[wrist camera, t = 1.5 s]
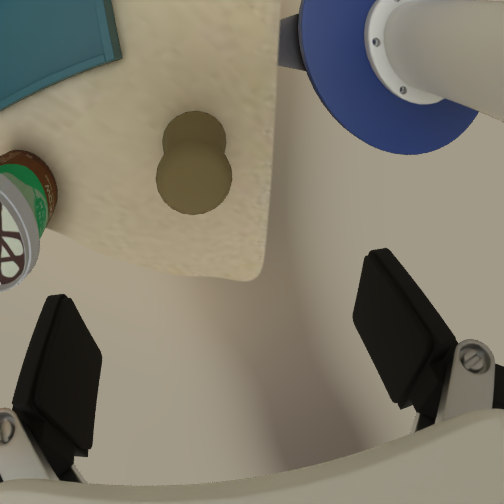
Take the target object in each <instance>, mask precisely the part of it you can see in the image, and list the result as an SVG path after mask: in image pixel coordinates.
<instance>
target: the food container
mask: <svg viewBox="0 0 504 504" xmlns="http://www.w3.org/2000/svg"><path fill="white" fill-rule="evenodd" d="M56 203H57V185H56V182H55V178H54V176H53V174H52V172H51V170H50V169H49V167H48V166H47V165H46V164H45V162H44V161H42V160H41V159H40V158H39V157H37V156H36V155H34V154H32V153H30V152H27V151H23V150H14V151H10V152H8V153H6V154H4V155H2V156H0V282H1V285H0V292H3V291H6V290H9V289H11V288H13V287H14V286H16V285H18V284H19V283H20V282H21V281H22V280H23V279H24V278H25V277H26V276H27V275H28V274H29V273H30V272H31V271H32V269H33V268H34V266H35V264H36V261H37V259H38V255H39V248H40V247H39V246H40V238H41V236H42V234H43V232H44V229H45V228H46V226H47V224H48V222H49V220H50V218H51V216H52V214H53V212H54V209H55V206H56Z"/></svg>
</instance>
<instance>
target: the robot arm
mask: <svg viewBox="0 0 504 504" xmlns="http://www.w3.org/2000/svg"><path fill="white" fill-rule="evenodd" d="M372 41H374V43H373V42H372ZM364 42H365V48H366V53H367V57H368V60H369V62H370V65H371V67H372V69H373V71H374V73H375V74H376V76H377V78H378V79H379V80H380V81H381V83H382V84H383V85H384V86H385V87H386V88H387V89H388V90H389V91H390V92H392V93H393V94H394V95H396V96H398V97H399V98H401V99H403V100H406V101H409V102H411V103H416V104H432V103H436V102H439V101H441V100H443V99H448V100H451V101H454V102H456V103H459V104H462V105H464V106H467V107H469V108H472V109H474V110H477V111H479V112H482V113H484V114H486V115H489V116H491V117H493V118H495V119H498V120H500V121H502V122H504V2H502V1H488V0H376V1H375V2H374V4H373V5H372V7H371V8H370V10H369V12H368V15H367V18H366V21H365V29H364ZM353 322H354V325H355V327H356V329H357V331H358V333H359V334H360V336H361V339H362V341H363V343H364V344H365V347H366V348H367V351H368V353H369V355H370V357H371V359H372V361H373V363H374V365H375V367H376V369H377V370H378V373H379V375H380V377H381V379H382V381H383V383H384V385H385V387H386V390H387V391H388V394H389V396H390V398H391V400H392V401H393V402H394V403H398V406H399V407H400V409H403V408H406V407H409V406H411V405H413V406H414V408H415V410H416V416H415V419H414V422H413V426H412V429H411V432H410V434H409V435H407V436H405V437H402V438H399V439H396V440H393V441H391V442H388V443H385V444H382V445H379V446H377V447H374V448H371V449H368V450H365V451H362V452H359V453H356V454H352V455H349V456H346V457H342V458H339V459H336V460H332V461H328V462H325V463H320V464H316V465H312V466H308V467H304V468H300V469H296V470H291V471H286V472H281V473H276V474H270V475H265V476H259V477H253V478H247V479H240V480H231V481H223V482H214V483H203V484H190V485H171V486H123V485H102V484H88V483H87V482H86V480H85V479H84V478H83V476H82V475H81V473H80V472H79V471H78V469H77V468H76V466H75V465H74V456H81V457H88V449H91V447H92V443H93V431H94V420H95V411H96V401H97V394H98V386H99V379H100V372H101V365H102V355H101V351H100V349H99V348H98V346H97V344H96V343H95V341H94V339H93V337H92V336H91V334H90V332H89V331H88V329H87V327H86V325H85V323H84V321H83V320H82V318H81V316H80V314H79V312H78V310H77V308H76V306H75V304H74V302H73V301H72V299H71V298H68V297H67V296H66V295H65V294H59V295H51V296H48V297H47V299H46V301H45V304H44V306H43V309H42V311H41V314H40V316H39V319H38V322H37V324H36V327H35V330H34V332H33V335H32V338H31V341H30V344H29V347H28V350H27V353H26V356H25V359H24V362H23V365H22V369H21V372H20V375H19V379H18V382H17V386H16V389H15V393H14V397H13V401H12V404H13V408H12V410H11V409H9V408H0V504H504V367H503V366H500V365H498V364H495V360H494V356H493V354H492V352H491V350H490V349H489V348H488V347H487V346H486V345H485V344H484V343H482V342H480V341H478V340H473V339H467V340H464V341H462V342H460V343H459V344H458V342H457V341H456V338H455V336H454V335H453V333H452V332H451V330H450V329H449V328H448V326H447V325H446V323H445V322H444V320H443V319H442V318H441V316H440V315H439V313H438V312H437V311H436V309H435V308H434V307H433V305H432V304H431V302H430V301H429V300H428V298H427V297H426V296H425V294H424V293H423V292H422V290H421V289H420V288H419V287H418V285H417V284H416V283H415V281H414V280H413V279H412V277H411V276H410V275H409V274H408V272H407V271H406V270H405V269H404V267H403V266H402V265H401V264H400V262H399V261H398V260H397V259H396V257H395V256H394V255H393V254H392V252H391V251H390V250H389V249H387V248H383V249H377V250H371V251H370V252H369V254H368V256H365V258H364V262H363V268H362V273H361V278H360V283H359V288H358V292H357V297H356V302H355V306H354V311H353Z"/></svg>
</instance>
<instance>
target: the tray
mask: <svg viewBox="0 0 504 504" xmlns="http://www.w3.org/2000/svg"><path fill="white" fill-rule="evenodd" d="M119 59H122V53H121V49H120V44H119V39H118V34H117V29H116V24H115V19H114V13H113V8H112V2H111V0H0V111H2V110H4V109H5V108H7V107H9V106H11V105H13V104H15V103H17V102H18V101H20V100H22V99H24V98H26V97H28V96H30V95H32V94H34V93H36V92H39V91H41V90H43V89H45V88H47V87H49V86H51V85H54V84H56V83H58V82H60V81H63V80H65V79H68V78H70V77H72V76H75V75H77V74H80V73H82V72H85V71H88V70H90V69H93V68H96V67H98V66H101V65H104V64H107V63H110V62H113V61H116V60H119Z"/></svg>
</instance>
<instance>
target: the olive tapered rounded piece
mask: <svg viewBox="0 0 504 504" xmlns="http://www.w3.org/2000/svg"><path fill="white" fill-rule="evenodd" d="M162 142H163V150H164V156H163V157H162V159H161V161H160V163H159V165H158V168H157V174H156V183H157V188H158V192H159V194H160V195H161V197H162V199H163V201H164V202H165V203H166V204H167V205H168V206H170V207H171V208H172V209H174V210H176V211H178V212H180V213H183V214H190V215H196V214H204V213H206V212H208V211H211V210H213V209H215V208H216V207H217V206H218V205H220V204H221V203H222V202H223V201H224V199H225V198H226V196H227V195H228V193H229V190H230V186H231V183H232V170H231V166H230V164H229V162H228V159H227V157H226V155H225V154H224V153H225V147H226V134H225V131H224V129H223V127H222V125H221V123H220V122H219V121H218V120H217V119H216V118H215V117H213V116H211V115H209V114H208V113H205V112H199V111H192V112H185V113H183V114H181V115H179V116H177V117H176V118H174V119H173V120H172V121H171V122H170V123H169V124H168V126H167V128H166V130H165V132H164V136H163V141H162Z"/></svg>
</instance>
